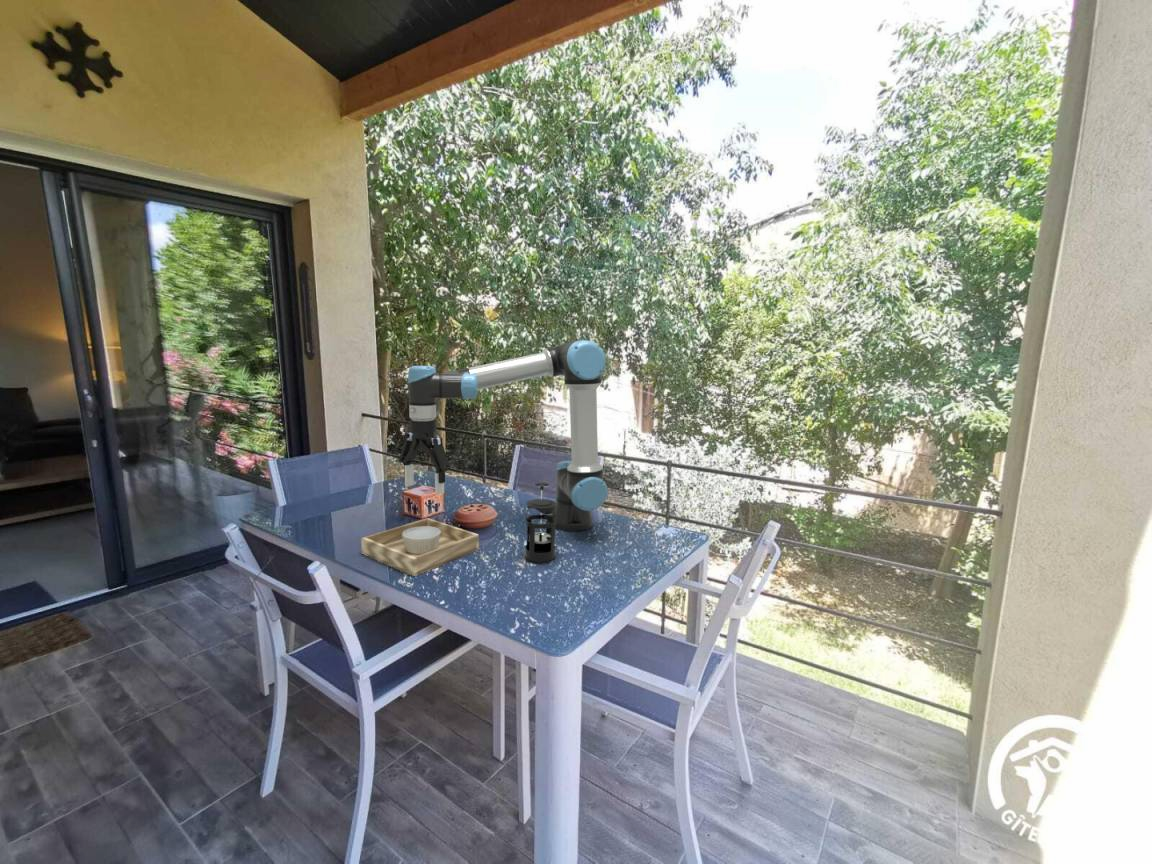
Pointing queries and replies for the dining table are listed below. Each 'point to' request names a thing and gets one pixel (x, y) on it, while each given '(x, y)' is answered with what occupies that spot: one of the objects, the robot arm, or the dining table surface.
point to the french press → (540, 539)
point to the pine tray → (394, 554)
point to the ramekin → (421, 539)
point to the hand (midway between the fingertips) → (424, 489)
